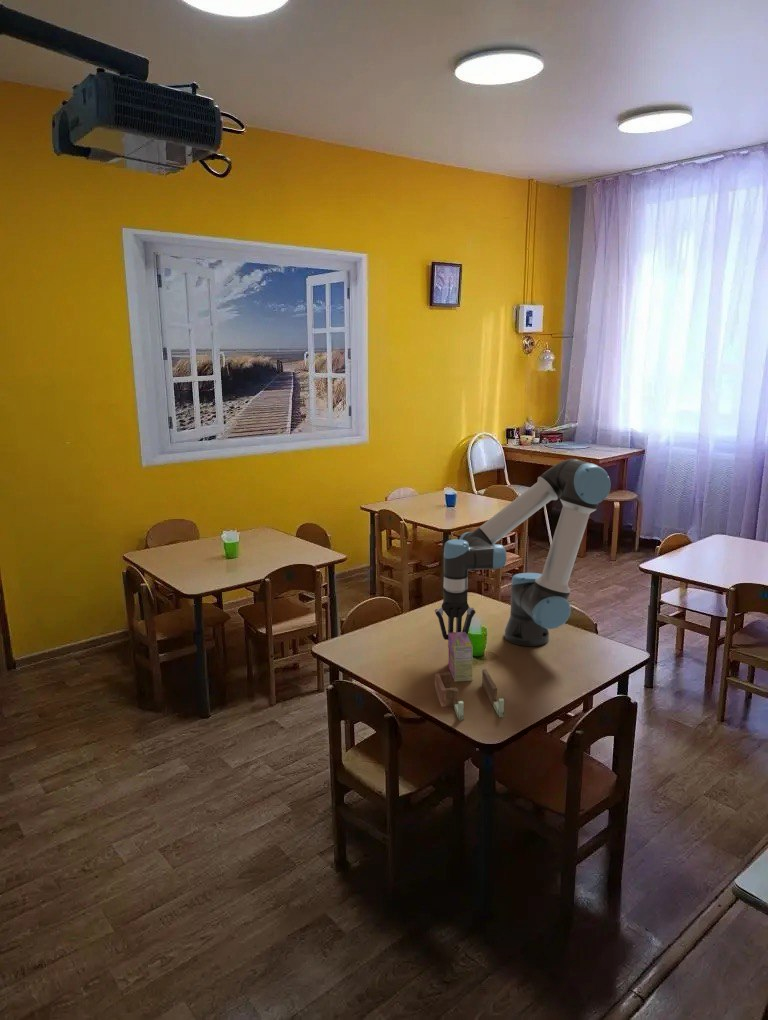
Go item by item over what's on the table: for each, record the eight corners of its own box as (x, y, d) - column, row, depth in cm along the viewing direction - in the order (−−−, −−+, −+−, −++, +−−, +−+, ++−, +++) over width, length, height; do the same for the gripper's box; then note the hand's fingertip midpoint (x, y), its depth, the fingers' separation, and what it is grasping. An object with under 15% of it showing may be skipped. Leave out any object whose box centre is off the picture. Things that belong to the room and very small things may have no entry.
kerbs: (497, 706, 193) (498, 690, 192) (503, 717, 188) (504, 700, 186) (454, 709, 192) (454, 692, 191) (459, 720, 186) (459, 703, 185)
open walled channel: (485, 684, 206) (486, 669, 205) (496, 704, 194) (497, 688, 193) (434, 687, 204) (434, 672, 203) (442, 708, 193) (442, 691, 192)
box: (447, 667, 218) (448, 632, 215) (465, 666, 218) (466, 631, 216) (453, 682, 208) (454, 645, 205) (472, 681, 208) (473, 645, 206)
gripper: (473, 584, 219) (471, 652, 224) (432, 585, 218) (432, 654, 223) (478, 592, 212) (476, 662, 217) (436, 593, 211) (436, 665, 216)
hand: (454, 658), depth 220 cm, fingers closed
